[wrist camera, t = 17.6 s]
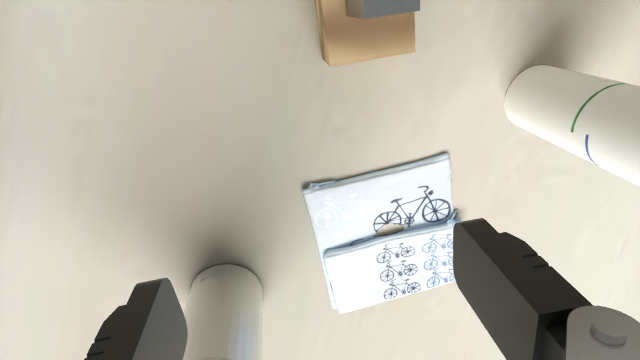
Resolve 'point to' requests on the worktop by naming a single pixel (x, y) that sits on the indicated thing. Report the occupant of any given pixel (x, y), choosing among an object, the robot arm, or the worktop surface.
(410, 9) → the aluminium block
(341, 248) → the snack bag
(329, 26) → the oak ledge
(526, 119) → the cylindrical container
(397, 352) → the worktop surface
